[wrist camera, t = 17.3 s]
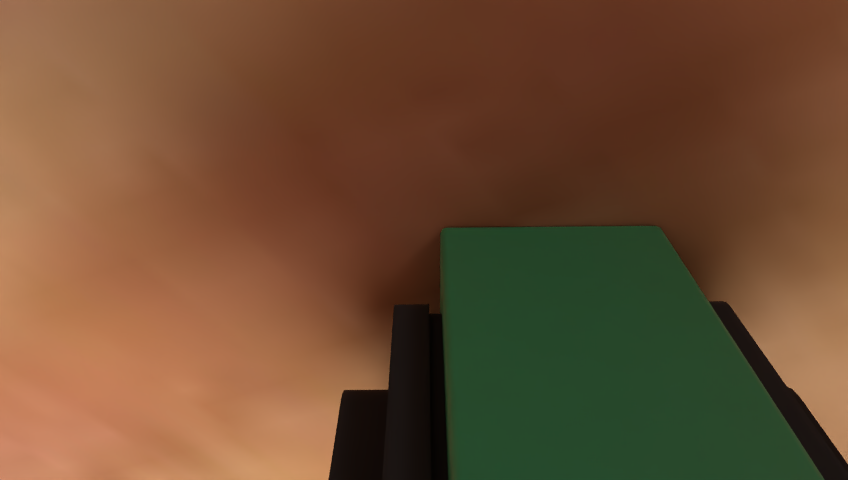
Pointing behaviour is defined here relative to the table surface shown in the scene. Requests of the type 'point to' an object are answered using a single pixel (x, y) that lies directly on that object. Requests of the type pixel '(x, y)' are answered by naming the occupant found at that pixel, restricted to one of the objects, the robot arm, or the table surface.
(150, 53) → the table surface
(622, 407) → the green box with strap
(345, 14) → the table surface
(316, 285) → the table surface
